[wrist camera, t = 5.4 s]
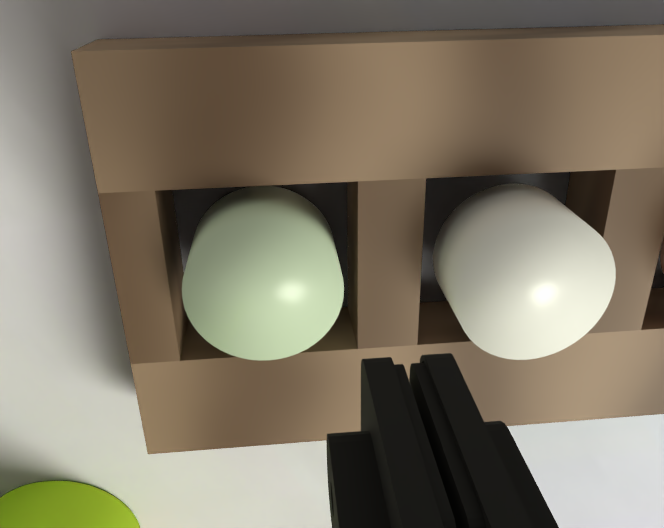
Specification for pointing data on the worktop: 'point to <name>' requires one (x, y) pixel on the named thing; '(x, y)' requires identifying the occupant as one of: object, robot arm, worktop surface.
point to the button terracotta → (662, 256)
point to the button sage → (263, 274)
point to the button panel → (376, 207)
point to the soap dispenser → (63, 507)
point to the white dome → (522, 271)
